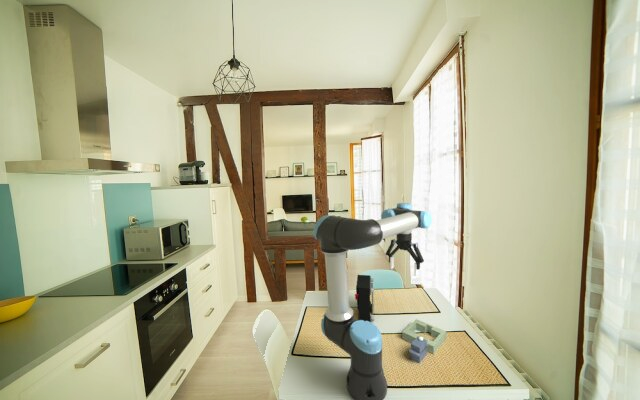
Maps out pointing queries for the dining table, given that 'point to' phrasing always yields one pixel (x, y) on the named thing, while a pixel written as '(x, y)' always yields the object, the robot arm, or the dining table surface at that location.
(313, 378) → the dining table surface
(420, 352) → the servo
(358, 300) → the electrical component
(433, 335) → the green tray
